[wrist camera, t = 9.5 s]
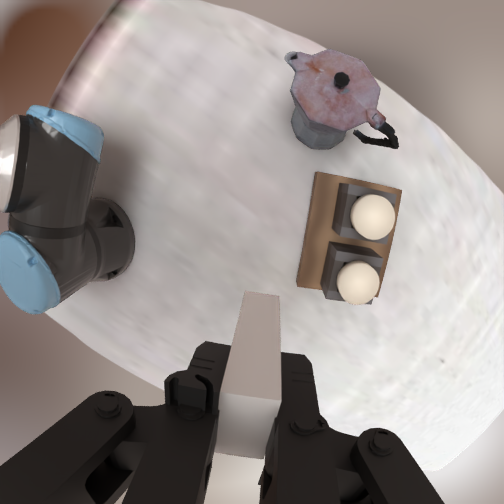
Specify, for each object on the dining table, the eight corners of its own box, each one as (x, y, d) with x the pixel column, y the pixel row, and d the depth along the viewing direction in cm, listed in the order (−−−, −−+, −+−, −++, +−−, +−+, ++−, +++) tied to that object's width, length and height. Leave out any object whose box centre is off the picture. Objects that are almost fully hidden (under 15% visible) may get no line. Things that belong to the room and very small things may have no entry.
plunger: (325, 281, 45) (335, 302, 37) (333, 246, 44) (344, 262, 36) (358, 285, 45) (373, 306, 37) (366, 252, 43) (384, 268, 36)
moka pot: (297, 74, 40) (310, 13, 21) (376, 130, 41) (437, 106, 22) (263, 119, 42) (256, 79, 23) (345, 175, 44) (393, 177, 24)
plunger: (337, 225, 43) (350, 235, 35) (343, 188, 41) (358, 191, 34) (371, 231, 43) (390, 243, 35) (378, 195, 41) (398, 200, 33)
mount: (296, 281, 49) (300, 302, 40) (315, 171, 44) (324, 171, 36) (373, 291, 48) (389, 312, 40) (396, 189, 43) (419, 192, 35)
